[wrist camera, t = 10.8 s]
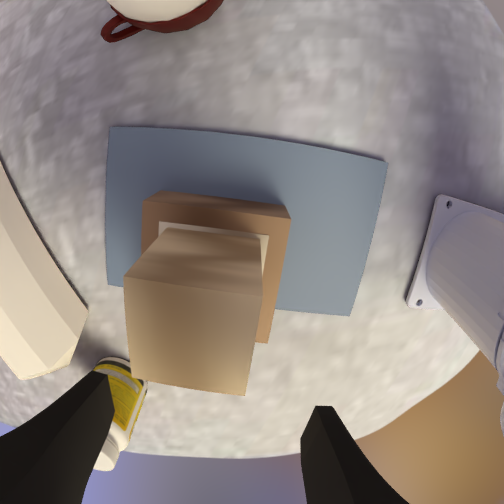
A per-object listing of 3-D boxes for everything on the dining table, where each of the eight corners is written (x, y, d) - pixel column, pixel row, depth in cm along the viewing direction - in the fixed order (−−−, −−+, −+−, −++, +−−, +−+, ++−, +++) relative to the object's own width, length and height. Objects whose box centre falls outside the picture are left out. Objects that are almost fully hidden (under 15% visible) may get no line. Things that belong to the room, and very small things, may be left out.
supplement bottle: (90, 351, 22) (44, 425, 14) (142, 358, 22) (105, 443, 14) (105, 392, 23) (71, 464, 15) (153, 400, 23) (128, 480, 15)
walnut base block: (285, 205, 17) (291, 219, 14) (265, 314, 19) (267, 344, 17) (160, 190, 17) (142, 201, 14) (156, 299, 19) (142, 325, 16)
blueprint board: (384, 161, 16) (388, 162, 16) (347, 312, 20) (349, 316, 19) (113, 126, 16) (109, 126, 15) (110, 281, 19) (107, 284, 19)
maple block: (260, 239, 14) (263, 296, 9) (247, 319, 16) (244, 396, 11) (167, 227, 14) (123, 276, 9) (164, 307, 16) (132, 377, 11)
